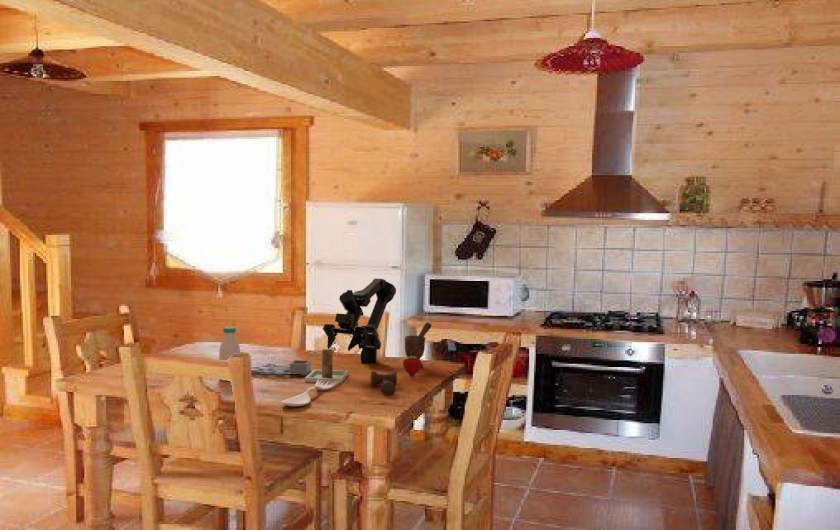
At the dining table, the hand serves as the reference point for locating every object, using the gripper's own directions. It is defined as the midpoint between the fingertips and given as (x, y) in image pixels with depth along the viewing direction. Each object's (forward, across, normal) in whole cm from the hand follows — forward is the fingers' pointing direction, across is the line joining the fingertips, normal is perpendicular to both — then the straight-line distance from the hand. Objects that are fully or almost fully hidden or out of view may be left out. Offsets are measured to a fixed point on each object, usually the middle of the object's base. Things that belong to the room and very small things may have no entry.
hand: (338, 349), depth 258 cm
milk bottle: (+24, -34, -9) cm, 43 cm away
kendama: (+15, +26, +1) cm, 29 cm away
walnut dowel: (+13, 0, +1) cm, 13 cm away
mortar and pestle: (-11, +23, +26) cm, 37 cm away
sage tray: (+13, 0, +2) cm, 13 cm away
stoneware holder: (+11, -14, +4) cm, 18 cm away
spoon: (+31, +8, -15) cm, 35 cm away
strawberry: (0, +27, +15) cm, 31 cm away
